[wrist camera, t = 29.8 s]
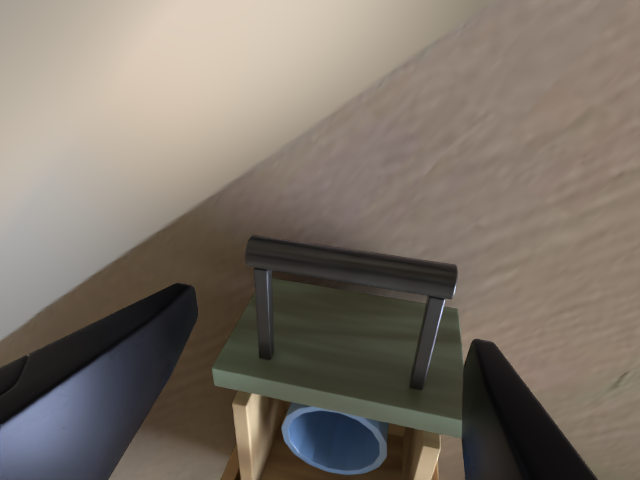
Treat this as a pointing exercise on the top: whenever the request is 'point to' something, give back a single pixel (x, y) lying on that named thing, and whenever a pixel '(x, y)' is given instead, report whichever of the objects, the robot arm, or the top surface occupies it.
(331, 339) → the drawer
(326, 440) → the cup
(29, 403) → the robot arm
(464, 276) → the top surface
